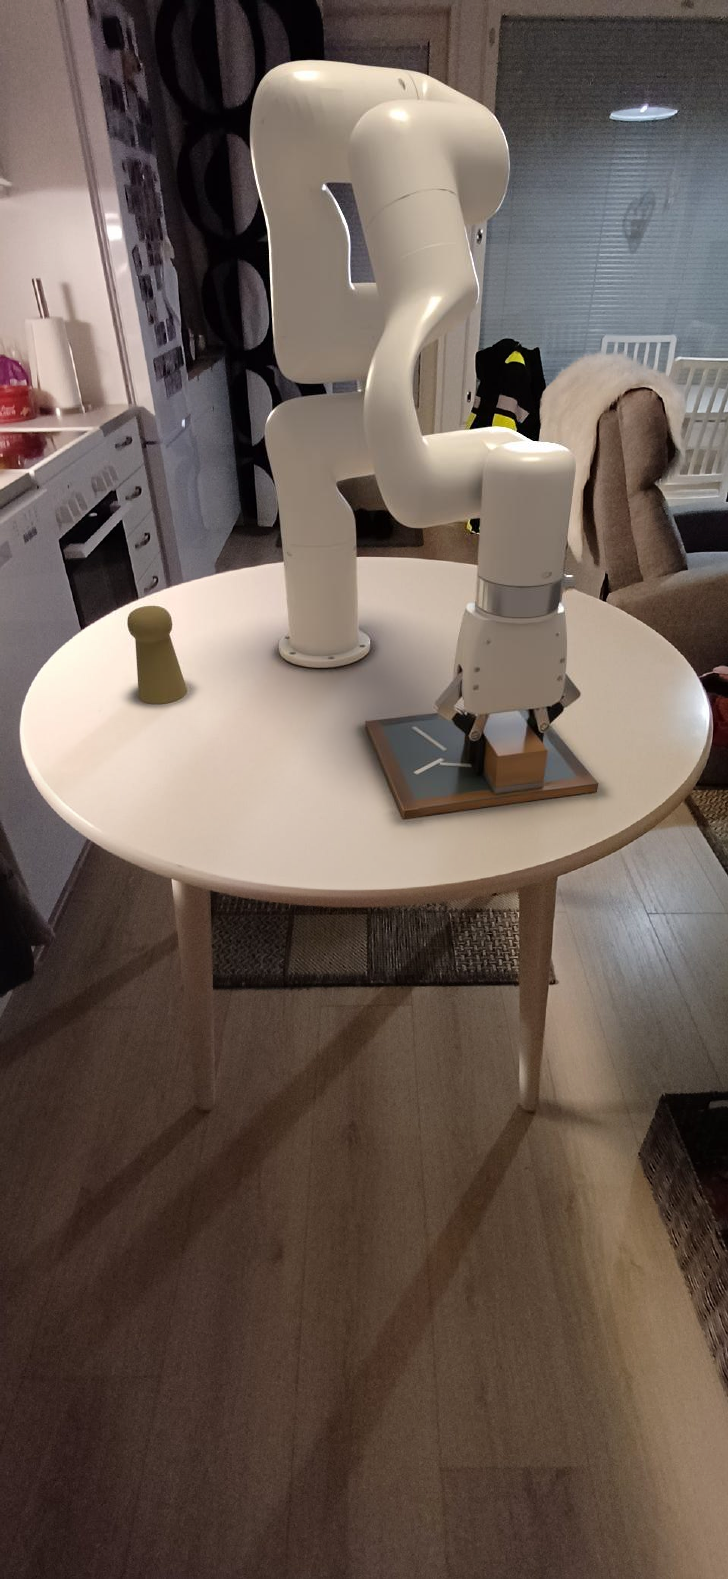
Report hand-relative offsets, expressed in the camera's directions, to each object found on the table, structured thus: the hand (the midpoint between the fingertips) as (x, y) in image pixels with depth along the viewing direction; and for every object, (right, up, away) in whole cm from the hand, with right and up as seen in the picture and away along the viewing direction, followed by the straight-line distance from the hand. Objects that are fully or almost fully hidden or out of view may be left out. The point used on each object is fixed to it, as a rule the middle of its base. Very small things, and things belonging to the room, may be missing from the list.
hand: (501, 762), depth 80 cm
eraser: (0, 0, 0) cm, 0 cm away
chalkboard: (-2, +1, +3) cm, 4 cm away
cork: (-40, +9, +18) cm, 44 cm away
